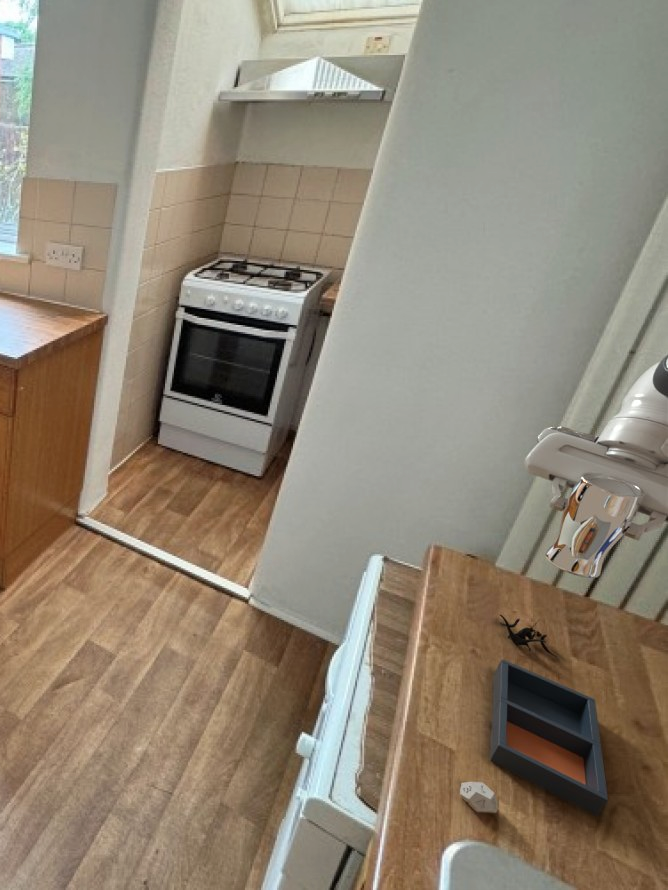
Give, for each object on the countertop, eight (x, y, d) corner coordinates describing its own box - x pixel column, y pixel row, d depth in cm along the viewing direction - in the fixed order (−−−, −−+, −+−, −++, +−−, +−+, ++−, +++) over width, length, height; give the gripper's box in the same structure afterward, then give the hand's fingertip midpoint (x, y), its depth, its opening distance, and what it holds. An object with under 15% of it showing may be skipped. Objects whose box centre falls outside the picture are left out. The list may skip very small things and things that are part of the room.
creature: (504, 626, 105) (481, 630, 102) (520, 601, 104) (496, 604, 101) (561, 661, 99) (538, 666, 95) (579, 635, 97) (556, 640, 94)
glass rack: (493, 675, 94) (501, 658, 93) (584, 716, 88) (595, 699, 87) (488, 763, 81) (498, 745, 80) (595, 819, 75) (608, 800, 74)
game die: (492, 802, 77) (501, 787, 75) (493, 827, 74) (502, 811, 73) (456, 784, 79) (464, 769, 78) (456, 807, 76) (464, 791, 75)
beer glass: (611, 586, 90) (656, 502, 84) (548, 569, 93) (588, 487, 88) (593, 560, 95) (635, 479, 90) (534, 544, 99) (571, 466, 93)
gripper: (548, 413, 98) (504, 480, 97) (750, 472, 82) (699, 553, 81) (547, 431, 102) (504, 495, 101) (740, 490, 86) (691, 568, 85)
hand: (592, 522), depth 91 cm, fingers closed on beer glass, 7 cm apart
